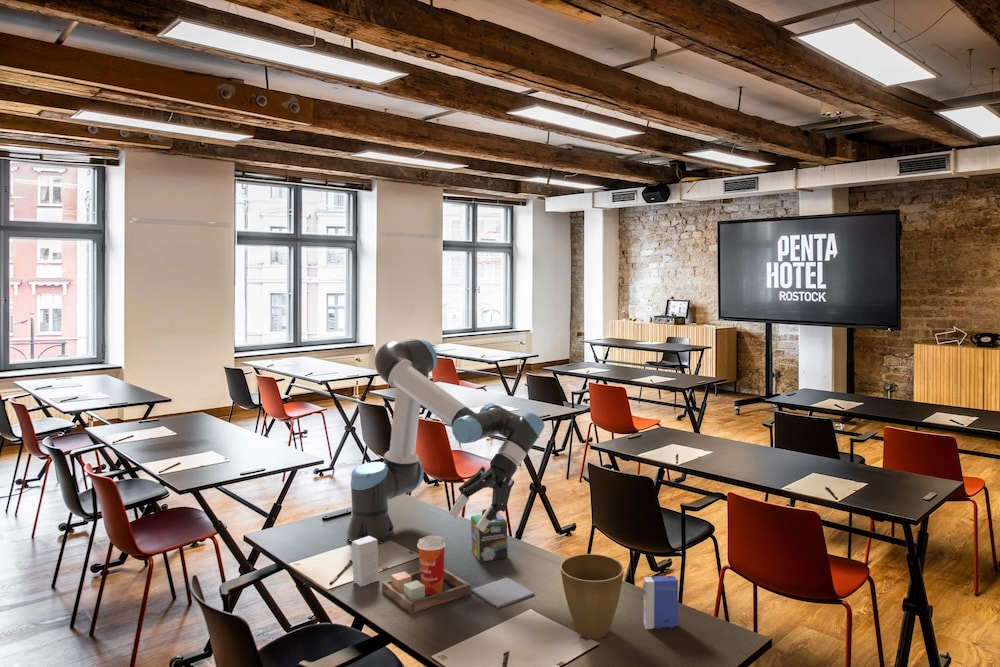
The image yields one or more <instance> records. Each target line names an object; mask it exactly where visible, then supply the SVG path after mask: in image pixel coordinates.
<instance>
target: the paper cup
mask: <svg viewBox="0 0 1000 667" xmlns="http://www.w3.org/2000/svg"><path fill="white" fill-rule="evenodd" d="M446 545H447V544H446V542H445V539H444V537H442V536H439V535H427V536H424V537H420V538H419V539H418V542H417V544H416V546H417V549H418V561H419V571H420V574H421V581H420V583H422V584H423V585H425V595H427V594H428V596H431V595H433V594H437V593H440V592H443V590H444V589H443V588H444V579H443V573H444V568H445V547H446Z"/></svg>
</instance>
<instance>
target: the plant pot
mask: <svg viewBox="0 0 1000 667" xmlns="http://www.w3.org/2000/svg"><path fill="white" fill-rule="evenodd" d="M559 568H560V574H561V581H562V586H563V591H564V596H565V598H566V603H567V607H568V610H569V612H570V613H569V614H570V616H571V618H572V622H573V624H574V627H575V628H576V629H575V630H576V631H577V633H578V634H579V635H580V636H581V637H584V638H587V639H591V638H592V640H593V639H602V638H604V637H606V636H607V635H608V633H609V631H610V629H611V626H612V624H613V621H614V618H615V614H616V612H617V608H618V605H619V601H620V600H619V599H620V595H621V590H622V585H623V579H624V571H625V567H624V565H623V563H621V562H620V561H619V560H618V559H616V558H614V557H612V556H608V555H605V554H604V555H603V554H596V553H581V554H577V555H573V556H570V557H567V558H566V559H564V560H563V561H562V562H561V563H560V566H559Z"/></svg>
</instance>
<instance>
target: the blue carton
mask: <svg viewBox="0 0 1000 667" xmlns="http://www.w3.org/2000/svg"><path fill="white" fill-rule="evenodd" d="M642 587H643V591H642V592H643V625H644V628H645V629H646V630H651V629H652V630H653V628H656V629H662V628H661V627H670V628H675V627H674V626H678V624H679V623H678V622H679V621H678V620H679V617H678V615H679V614H678V613H679V612H678V610H679V608H678V607H679V604H678V601H679V600H678V599H679V580H678V579H677V578H676V576H675V575H671V574H665V576H664V575H662V576H661V575H660V576H647V577H643V586H642Z"/></svg>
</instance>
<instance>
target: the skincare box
mask: <svg viewBox="0 0 1000 667" xmlns="http://www.w3.org/2000/svg"><path fill="white" fill-rule="evenodd" d="M378 545H379V544H378V540H377V539H375V538H373V537H371V536H367V537H364V538H361V539H358V540H355V541H352V543H351V556H352V557H351V558H352V575H353V576H352V581H354V582H355V583H357V584H358V585H357V584H356V585H357V586H358V587H360V586H361V588H363V587H365V586H369V585H370V583H371V584H372V583H376V582H378V581H380V572H379V571H380V570H379V546H378ZM354 582H353V583H354ZM355 583H354V584H355ZM362 586H363V587H362Z"/></svg>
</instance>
